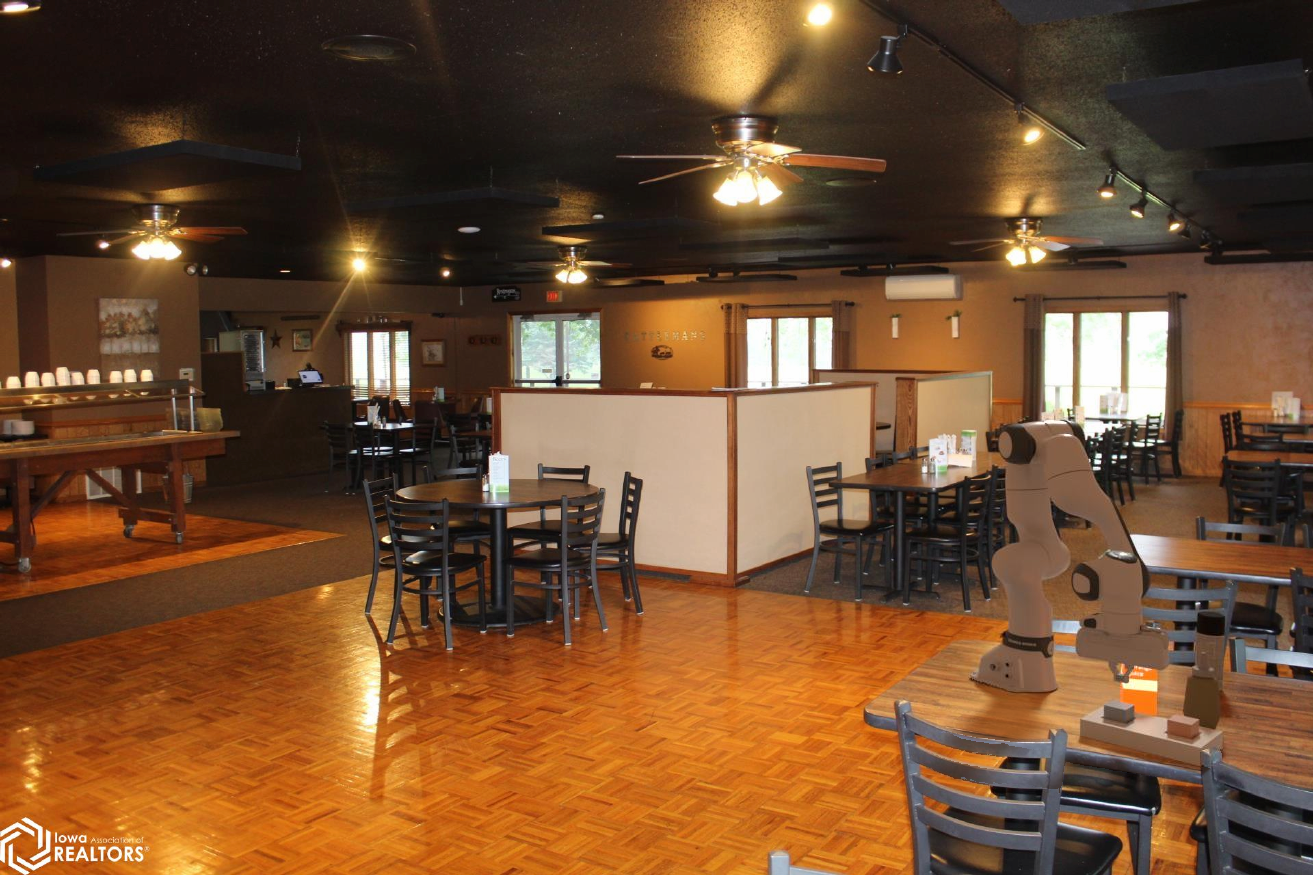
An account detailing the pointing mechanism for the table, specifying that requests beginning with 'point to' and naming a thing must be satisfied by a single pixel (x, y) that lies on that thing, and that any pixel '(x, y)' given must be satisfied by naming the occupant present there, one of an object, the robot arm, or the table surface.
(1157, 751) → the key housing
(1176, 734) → the terracotta key
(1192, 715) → the squeeze bottle
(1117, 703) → the slate key
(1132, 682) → the orange juice
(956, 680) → the table surface
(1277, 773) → the table surface
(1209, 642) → the spray can
